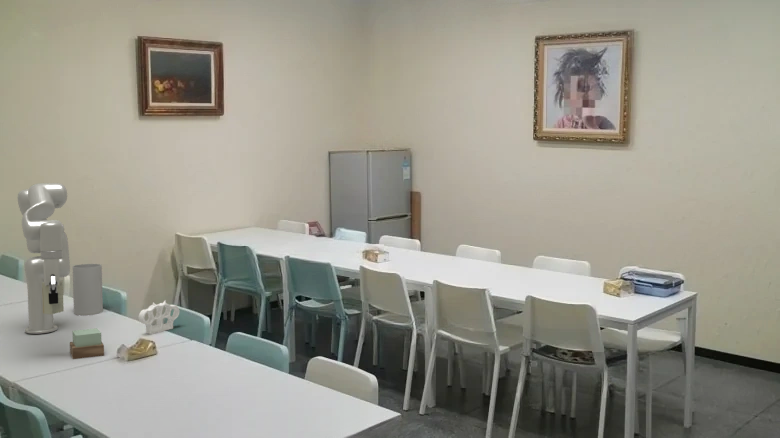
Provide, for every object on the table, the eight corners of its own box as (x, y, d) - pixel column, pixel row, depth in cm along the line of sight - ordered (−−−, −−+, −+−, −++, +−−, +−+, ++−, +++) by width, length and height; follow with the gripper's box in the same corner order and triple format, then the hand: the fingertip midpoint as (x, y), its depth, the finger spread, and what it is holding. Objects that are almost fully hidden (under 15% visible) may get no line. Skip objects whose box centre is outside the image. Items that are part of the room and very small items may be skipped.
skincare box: (55, 310, 290) (54, 279, 289) (64, 311, 288) (63, 280, 287) (42, 313, 284) (41, 281, 283) (50, 314, 282) (49, 282, 281)
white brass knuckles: (180, 331, 327) (179, 298, 326) (143, 339, 313) (143, 304, 311) (175, 330, 329) (174, 297, 328) (139, 338, 315) (138, 303, 314)
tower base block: (70, 353, 292) (69, 342, 291) (100, 350, 297) (100, 339, 296) (72, 360, 282) (72, 348, 282) (104, 356, 287) (103, 345, 287)
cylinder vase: (97, 315, 360) (96, 263, 358) (107, 319, 350) (105, 266, 348) (70, 318, 352) (68, 265, 350) (79, 323, 342) (77, 268, 340)
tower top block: (72, 342, 291) (72, 330, 291) (97, 339, 295) (97, 328, 295) (76, 347, 283) (75, 335, 283) (101, 344, 288) (101, 332, 287)
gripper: (39, 252, 290) (41, 298, 292) (41, 258, 275) (42, 306, 276) (61, 251, 294) (62, 297, 295) (63, 257, 278) (65, 305, 279)
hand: (53, 301), depth 286 cm, fingers closed on skincare box, 7 cm apart
